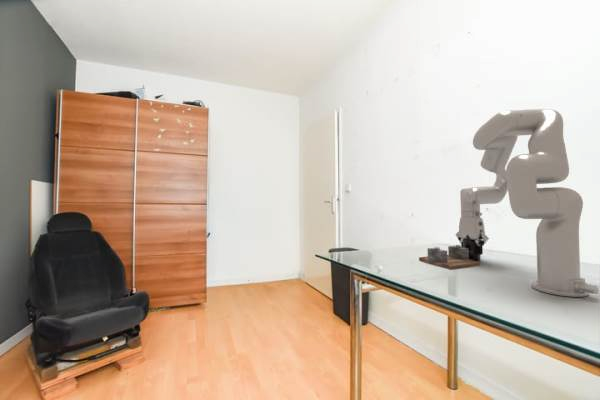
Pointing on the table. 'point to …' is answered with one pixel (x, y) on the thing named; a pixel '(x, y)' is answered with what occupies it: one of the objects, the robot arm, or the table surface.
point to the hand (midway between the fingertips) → (471, 252)
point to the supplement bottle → (471, 248)
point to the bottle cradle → (450, 257)
